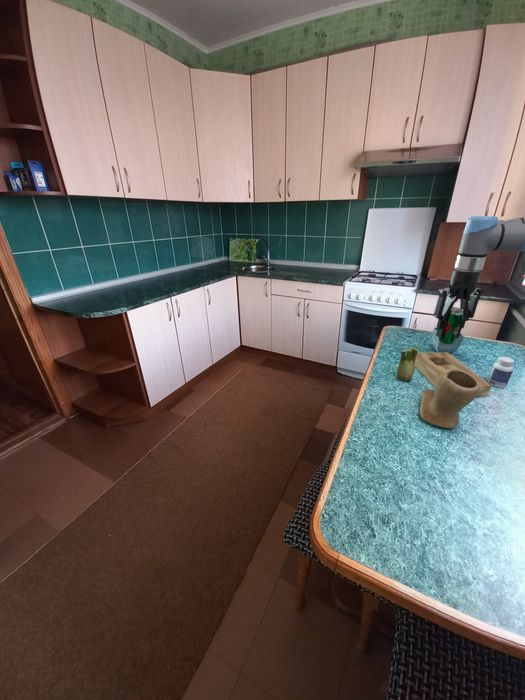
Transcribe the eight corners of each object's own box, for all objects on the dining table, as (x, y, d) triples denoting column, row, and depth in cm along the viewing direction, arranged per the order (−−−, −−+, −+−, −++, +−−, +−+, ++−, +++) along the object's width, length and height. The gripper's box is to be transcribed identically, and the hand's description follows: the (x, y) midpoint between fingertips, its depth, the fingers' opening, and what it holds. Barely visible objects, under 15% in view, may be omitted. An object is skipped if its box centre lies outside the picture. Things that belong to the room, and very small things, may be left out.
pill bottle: (509, 389, 97) (520, 363, 93) (491, 387, 98) (502, 362, 93) (500, 380, 102) (511, 356, 97) (483, 379, 103) (493, 354, 98)
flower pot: (450, 347, 125) (455, 328, 121) (458, 357, 117) (465, 336, 113) (428, 346, 127) (433, 327, 123) (435, 355, 119) (440, 335, 115)
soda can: (452, 346, 99) (463, 313, 94) (436, 342, 103) (445, 309, 97) (456, 341, 103) (466, 309, 97) (440, 337, 106) (449, 306, 100)
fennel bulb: (395, 381, 103) (402, 350, 97) (394, 374, 107) (400, 344, 101) (413, 383, 101) (421, 353, 95) (411, 376, 105) (419, 346, 100)
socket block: (444, 361, 115) (447, 352, 113) (487, 396, 94) (491, 386, 92) (410, 362, 114) (412, 353, 113) (445, 397, 93) (448, 387, 92)
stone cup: (465, 438, 77) (483, 391, 71) (416, 422, 83) (428, 378, 76) (464, 407, 89) (480, 365, 82) (421, 395, 95) (433, 355, 88)
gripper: (486, 266, 95) (465, 331, 106) (432, 268, 95) (416, 333, 105) (504, 271, 88) (479, 340, 99) (446, 272, 88) (427, 341, 99)
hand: (447, 336), depth 102 cm, fingers closed on soda can, 5 cm apart
